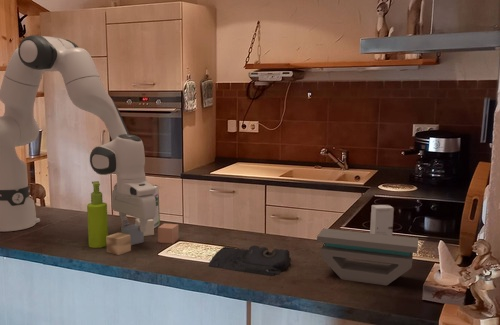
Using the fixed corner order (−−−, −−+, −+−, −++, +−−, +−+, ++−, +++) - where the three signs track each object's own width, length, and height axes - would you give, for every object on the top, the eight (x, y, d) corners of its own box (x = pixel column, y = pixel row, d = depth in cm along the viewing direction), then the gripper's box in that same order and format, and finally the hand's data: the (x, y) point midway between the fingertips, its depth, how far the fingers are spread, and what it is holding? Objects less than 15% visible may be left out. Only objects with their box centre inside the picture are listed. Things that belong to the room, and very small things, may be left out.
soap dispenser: (106, 240, 161) (104, 179, 158) (109, 246, 155) (107, 183, 152) (87, 242, 159) (85, 180, 156) (89, 248, 153) (86, 184, 150)
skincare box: (374, 245, 158) (375, 208, 156) (369, 241, 162) (370, 204, 160) (392, 244, 158) (394, 207, 157) (387, 240, 163) (388, 204, 161)
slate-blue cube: (121, 242, 160) (121, 227, 159) (134, 238, 163) (134, 224, 162) (130, 245, 156) (129, 230, 156) (143, 242, 160) (143, 227, 159)
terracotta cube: (158, 242, 160) (157, 227, 159) (164, 238, 164) (164, 223, 164) (172, 243, 158) (172, 228, 158) (178, 239, 163) (178, 224, 162)
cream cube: (135, 232, 170) (135, 218, 169) (150, 231, 172) (149, 217, 171) (139, 236, 166) (138, 222, 165) (153, 234, 168) (153, 220, 167)
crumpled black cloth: (225, 251, 153) (225, 236, 152) (295, 260, 145) (295, 245, 144) (203, 268, 138) (203, 251, 138) (279, 279, 131) (279, 262, 130)
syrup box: (154, 229, 174) (153, 188, 172) (138, 228, 175) (137, 187, 173) (160, 224, 179) (159, 185, 177) (144, 223, 181) (143, 184, 178)
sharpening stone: (316, 275, 132) (317, 236, 131) (322, 265, 139) (323, 228, 138) (414, 289, 124) (417, 247, 122) (416, 278, 131) (418, 238, 129)
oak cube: (106, 252, 150) (106, 236, 149) (119, 247, 154) (118, 232, 153) (118, 255, 147) (118, 239, 146) (130, 250, 151) (130, 235, 151)
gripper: (105, 183, 162) (107, 224, 164) (141, 192, 148) (143, 236, 150) (122, 180, 166) (124, 220, 168) (158, 188, 152) (160, 232, 154)
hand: (133, 228), depth 159 cm, fingers open, 8 cm apart
